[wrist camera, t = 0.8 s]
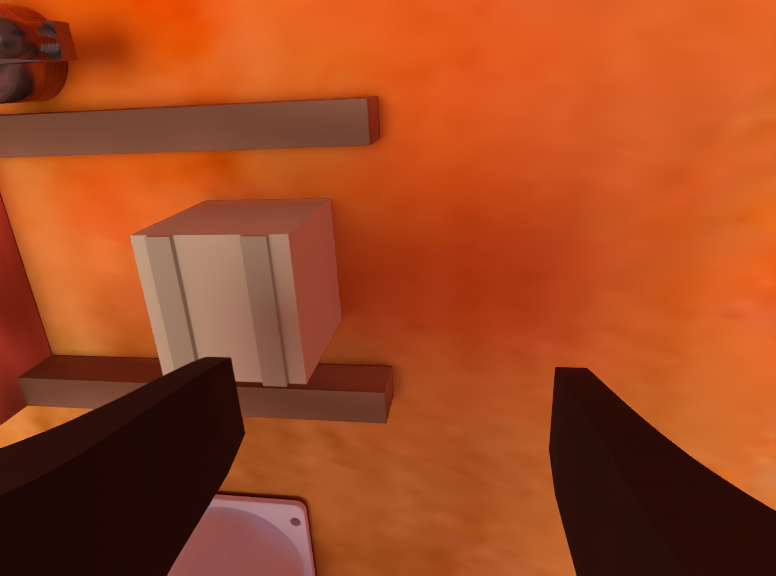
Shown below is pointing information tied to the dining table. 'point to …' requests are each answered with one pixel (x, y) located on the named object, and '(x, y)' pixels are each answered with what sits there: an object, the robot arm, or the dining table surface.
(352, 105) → the bay
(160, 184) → the dining table surface
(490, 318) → the dining table surface
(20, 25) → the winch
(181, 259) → the crate
